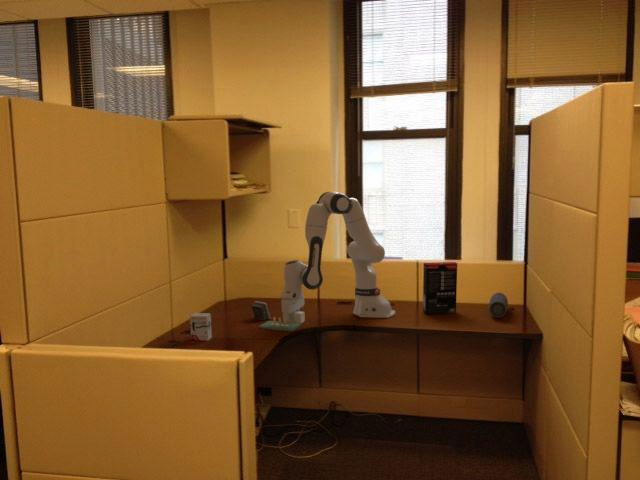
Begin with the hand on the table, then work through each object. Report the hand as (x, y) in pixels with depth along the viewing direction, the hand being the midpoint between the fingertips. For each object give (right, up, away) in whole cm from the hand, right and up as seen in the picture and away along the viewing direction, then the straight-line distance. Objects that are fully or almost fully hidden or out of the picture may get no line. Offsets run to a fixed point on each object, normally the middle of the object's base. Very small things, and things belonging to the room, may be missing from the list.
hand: (294, 318), depth 295 cm
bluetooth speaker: (+107, +1, +5) cm, 107 cm away
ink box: (-42, -6, -28) cm, 51 cm away
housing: (0, -2, 0) cm, 2 cm away
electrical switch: (-18, -1, +7) cm, 19 cm away
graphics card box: (+78, +1, +12) cm, 79 cm away
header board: (-6, -3, -10) cm, 12 cm away
